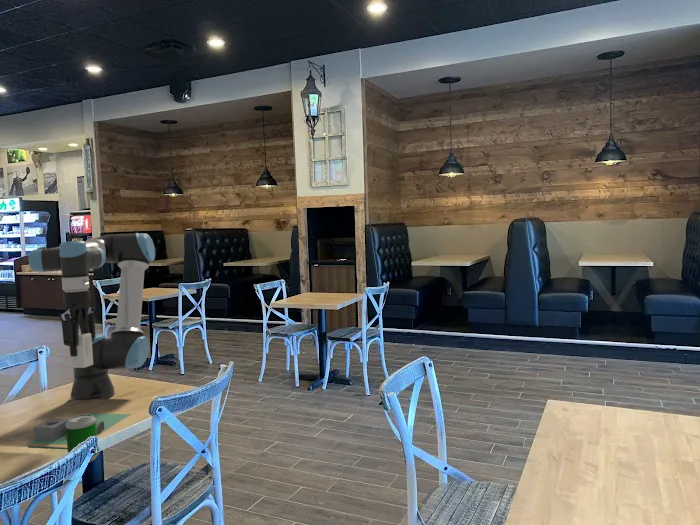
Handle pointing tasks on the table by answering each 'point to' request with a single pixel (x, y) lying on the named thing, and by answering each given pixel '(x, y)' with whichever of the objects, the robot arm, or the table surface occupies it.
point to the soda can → (81, 431)
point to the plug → (84, 350)
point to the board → (56, 429)
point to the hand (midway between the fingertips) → (81, 364)
